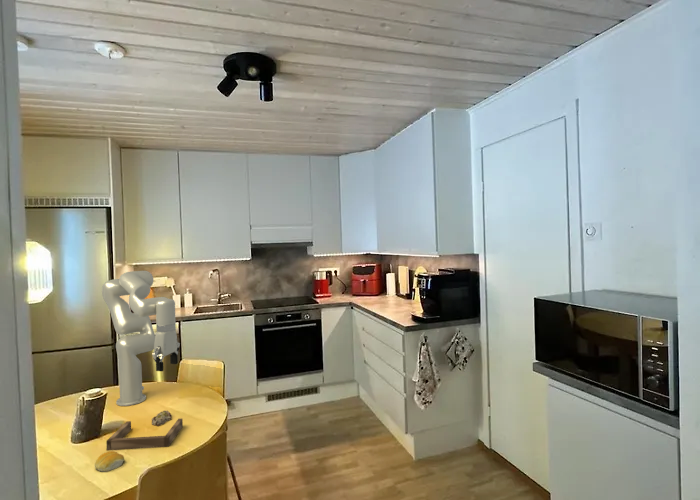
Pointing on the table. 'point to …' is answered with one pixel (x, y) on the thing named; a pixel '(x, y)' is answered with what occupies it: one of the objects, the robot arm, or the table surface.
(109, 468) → the bread roll
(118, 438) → the dark wooden frame
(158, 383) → the table surface
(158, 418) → the mineral rock
